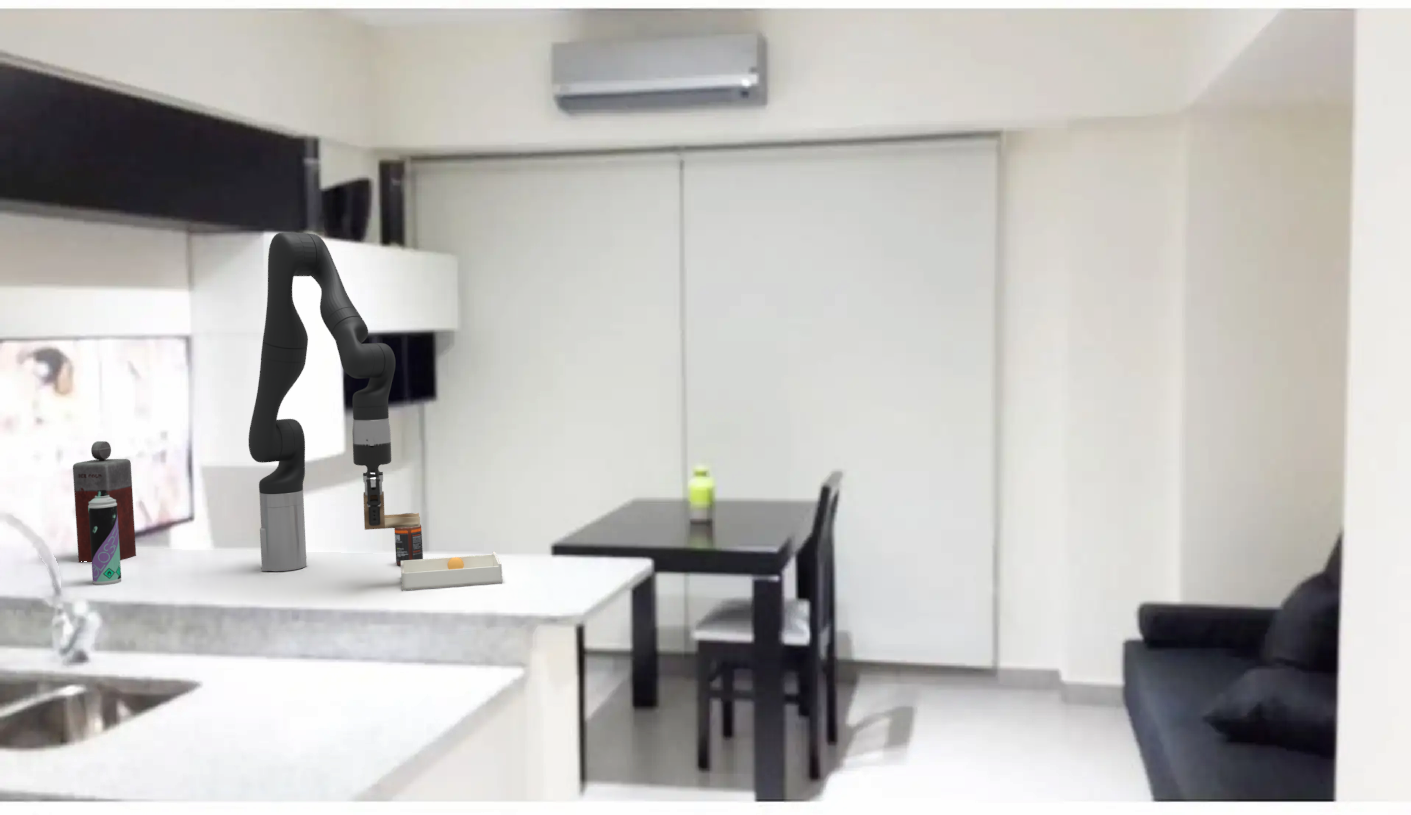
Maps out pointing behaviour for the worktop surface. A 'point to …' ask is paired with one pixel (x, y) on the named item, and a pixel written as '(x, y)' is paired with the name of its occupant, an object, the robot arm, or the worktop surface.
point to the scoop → (389, 517)
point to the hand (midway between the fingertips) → (374, 522)
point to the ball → (455, 563)
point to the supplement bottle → (408, 543)
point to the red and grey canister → (118, 486)
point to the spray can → (104, 539)
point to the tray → (450, 572)
